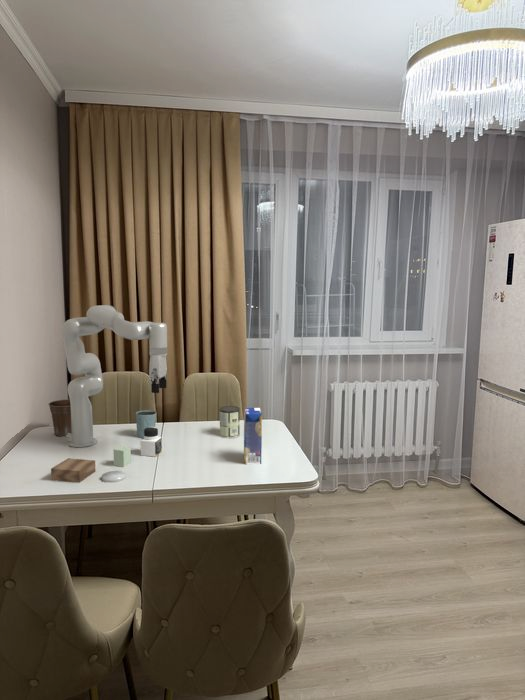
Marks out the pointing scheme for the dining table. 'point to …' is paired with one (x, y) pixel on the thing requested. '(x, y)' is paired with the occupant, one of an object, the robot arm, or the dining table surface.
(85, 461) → the walnut block
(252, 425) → the beverage box
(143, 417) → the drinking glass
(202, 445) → the dining table surface
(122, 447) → the sage block
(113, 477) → the white domed disc
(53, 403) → the plant pot
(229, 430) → the coffee can
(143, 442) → the medicine bottle
